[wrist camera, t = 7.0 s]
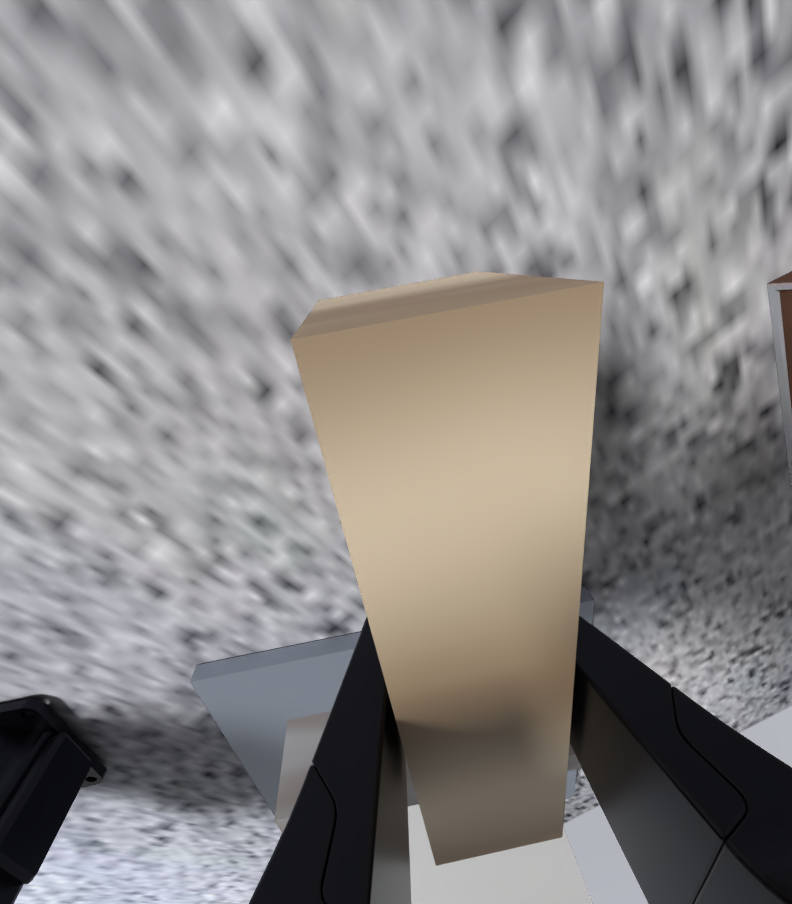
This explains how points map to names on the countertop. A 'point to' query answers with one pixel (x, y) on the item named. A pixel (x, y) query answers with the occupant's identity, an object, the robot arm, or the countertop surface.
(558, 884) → the tile
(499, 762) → the block
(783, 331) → the food container
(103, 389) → the countertop surface
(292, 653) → the slate board
